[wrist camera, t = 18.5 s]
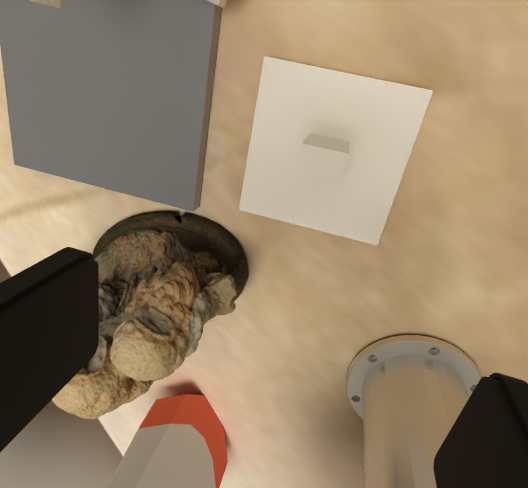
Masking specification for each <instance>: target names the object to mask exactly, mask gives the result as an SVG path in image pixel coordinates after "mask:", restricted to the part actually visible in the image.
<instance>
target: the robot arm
mask: <svg viewBox="0 0 528 488" xmlns="http://www.w3.org/2000/svg"><path fill="white" fill-rule="evenodd" d="M98 345H99V270H98V263H97V262H96V261H95V260H94V257H93V255H92V254H91V253H88V252H85V251H81V250H78V249H75V248H71V247H67V248H64V249H62V250H60V251H58V252H56V253H55V254H53V255H51V256H49V257H47V258H45V259H44V260H42V261H40V262H38V263H36V264H34V265H33V266H31V267H29V268H27V269H25V270H23V271H22V272H20V273H18V274H16V275H14V276H12V277H11V278H9V279H7V280H5V281H3V282H2V283H0V452H1V451H2V450H3V449H4V448H5V447H6V446H7V445H8V444H9V443H10V442H11V441H12V440H13V439H14V437H16V435H17V434H18V433H19V432H20V431H21V430H22V429H23V428H24V427H25V426H26V425H27V424H28V423H29V422H30V421H31V420H32V419H33V418H34V417H35V416H36V415H37V414H38V413H39V412H40V411H41V410H42V409H43V408H44V407H45V406H46V405H47V404H48V403H49V402H50V401H51V400H52V399H53V398H54V397H55V396H56V395H57V394H58V393H59V392H60V391H61V389H62V388H63V387H64V386H65V385H66V384H67V383H68V382H69V381H70V380H71V379H72V378H73V377H74V376H75V375H76V374H77V373H78V372H79V371H80V370H81V369H82V368H83V367H84V366H85V365H86V364H87V363H88V362H89V361H90V360H91V359H92V358H93V356H94V355H95V353H96V351H97V349H98ZM346 389H347V396H348V399H349V401H350V404H351V406H352V407H353V409H354V410H355V412H356V413H357V414H358V415H359V416H360V417H361V418H362V419H363V427H364V458H363V460H362V462H363V466H364V468H365V488H528V384H527V382H525V381H523V380H520V379H516V378H513V377H509V376H506V375H503V374H499V373H493V374H492V375H490V376H489V377H482V378H481V375H480V373H479V371H478V369H477V367H476V366H475V364H474V363H473V361H472V360H471V359H470V358H469V357H468V356H467V355H466V354H465V353H463V352H462V351H461V350H460V349H458V348H457V347H455V346H453V345H451V344H449V343H447V342H445V341H442V340H439V339H436V338H433V337H427V336H421V335H401V336H394V337H389V338H386V339H383V340H379V341H377V342H375V343H373V344H371V345H369V346H368V347H366V348H365V349H364V350H362V351H361V352H360V353H359V354H358V355H357V356H356V357H355V359H354V360H353V361H352V363H351V365H350V367H349V370H348V374H347V383H346Z"/></svg>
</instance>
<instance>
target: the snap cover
mask: <svg viewBox="0 0 528 488" xmlns="http://www.w3.org/2000/svg"><path fill="white" fill-rule="evenodd" d="M432 93H433V90H428V89H423V88H418V87H414V86H409V85H404V84H399V83H394V82H389V81H384V80H379V79H375V78H370V77H365V76H360V75H355V74H350V73H345V72H340V71H335V70H331V69H326V68H321V67H316V66H311V65H306V64H301V63H296V62H292V61H287V60H282V59H277V58H272V57H267V56H264V60H263V66H262V72H261V78H260V84H259V90H258V96H257V102H256V108H255V114H254V120H253V126H252V132H251V138H250V144H249V150H248V156H247V162H246V169H245V175H244V181H243V187H242V193H241V199H240V205H239V210H241V211H245V212H249V213H253V214H257V215H261V216H264V217H268V218H272V219H276V220H280V221H284V222H288V223H292V224H295V225H299V226H303V227H307V228H311V229H315V230H319V231H322V232H326V233H330V234H334V235H338V236H342V237H346V238H350V239H353V240H357V241H361V242H365V243H369V244H373V245H377V246H378V243H379V240H380V237H381V235H382V232H383V229H384V226H385V223H386V221H387V218H388V215H389V212H390V210H391V207H392V204H393V201H394V198H395V196H396V193H397V190H398V187H399V185H400V182H401V179H402V176H403V173H404V171H405V168H406V165H407V162H408V160H409V157H410V154H411V151H412V149H413V146H414V143H415V140H416V137H417V135H418V132H419V129H420V126H421V124H422V121H423V118H424V115H425V112H426V110H427V107H428V104H429V101H430V99H431V96H432Z"/></svg>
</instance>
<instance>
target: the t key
mask: <svg viewBox="0 0 528 488" xmlns="http://www.w3.org/2000/svg"><path fill="white" fill-rule="evenodd" d="M29 1H32V2H36V3H40V4H44V5H48V6H52V7H56V8H60V5H61V0H29ZM207 1H209V2H211V3H213V4H215V5H217V6H220V7H222V8H224V9H225V5H226V2H227V0H207Z"/></svg>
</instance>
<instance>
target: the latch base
mask: <svg viewBox="0 0 528 488" xmlns="http://www.w3.org/2000/svg"><path fill="white" fill-rule="evenodd" d="M221 13H222V7H220V6H217V5H215V4H213V3H211V2H209V1H207V0H61V5H60V8H56V7H52V6H48V5H44V4H40V3H36V2H32V1H29V0H0V46H1V54H2V63H3V71H4V80H5V88H6V97H7V105H8V114H9V122H10V131H11V140H12V148H13V157H14V165H18V166H22V167H26V168H29V169H33V170H37V171H41V172H45V173H49V174H52V175H56V176H60V177H64V178H68V179H71V180H75V181H79V182H83V183H87V184H91V185H94V186H98V187H102V188H106V189H110V190H113V191H117V192H121V193H125V194H129V195H133V196H136V197H140V198H144V199H148V200H152V201H155V202H159V203H163V204H167V205H171V206H175V207H178V208H182V209H186V210H190V211H194V210H196V209H197V208H198V207H199V206H200V197H201V188H202V180H203V171H204V162H205V153H206V145H207V136H208V127H209V118H210V109H211V101H212V92H213V83H214V74H215V65H216V57H217V48H218V39H219V30H220V21H221Z"/></svg>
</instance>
